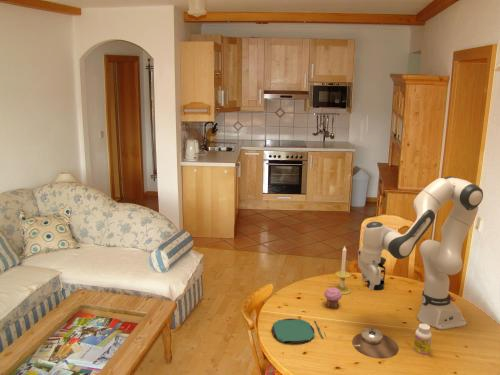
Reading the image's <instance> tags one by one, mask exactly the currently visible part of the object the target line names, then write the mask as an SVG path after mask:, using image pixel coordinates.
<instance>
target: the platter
mask: <svg viewBox="0 0 500 375" xmlns="http://www.w3.org/2000/svg"><path fill="white" fill-rule="evenodd" d="M361 337H362V332H361V333H358V334H355V336H353V338H352V340H351V342H352V343H351V344H352V346H353V348H354V349H355V350H356V351H357V352H359V353H360V354H362V355H364V356H366V357H369V358H373V359H380V360H381V359H383V360H385V359H390V358H393V357H395V356H397V355H398V353H399V351H400V348H399V347H400V346H399V345H398V343H397V342H396V341H395V340H394V339H393V338H391V337H390V336H387V335H385V334H383V335H382V342H381V343H380V344H377V345H371V344H368V343H365V342H364V341H363V340H362V338H361Z"/></svg>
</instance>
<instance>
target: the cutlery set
mask: <svg viewBox="0 0 500 375" xmlns="http://www.w3.org/2000/svg"><path fill="white" fill-rule="evenodd" d="M313 322H314V324H315V326H316V329H317V331H318V334H319V336H320V337H321V338H322V339H324V336H325V337H327V335H326V332H325V331H324V336H323V334H322V332H321V328H320V326H319V325H318V323H317V321H316V320H314V321H313ZM271 331H272V334H273V335H274V337H276V339H277V341H278V342H280V343H284V342H286V343H295V344H296V343H297V344H299V343H305V342H307V341H309V342H310V341H311V340H312V339H314V337H315V328H314V327H313V325H311V323H310V322H308V321H306V320H304V319H301V318H283V319H278V320H277V321H275V322H274V323H272V326H271Z"/></svg>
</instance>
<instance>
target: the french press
mask: <svg viewBox="0 0 500 375" xmlns="http://www.w3.org/2000/svg"><path fill="white" fill-rule="evenodd" d="M386 262H387V259H386V258H385V257H383V256H381V261H380V263H379V264H378V266H379V268H382V269H381V281H380V284H379V285H375V286H374V290H373V291H383V290H384V289H385V278H386V266H384V265H385V264H386ZM382 273H383V274H382ZM364 283H367V284H366V286H367V288H368V289H369V285H370V281H369V280H368V279H367V280H366V281H364Z"/></svg>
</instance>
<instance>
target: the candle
mask: <svg viewBox="0 0 500 375" xmlns="http://www.w3.org/2000/svg"><path fill="white" fill-rule="evenodd" d="M341 253H342V254H341V256H342V257H341V268H340V269H341V270H338V271H335V273H334V275H335V276H336V277H338V278H340V280H339V285H335V286H334V287H335V288H337V289H338V290H340V291H341V293H342V295H349V294H350V293H351V292H352V290H351V288H350V287H348V286H346V282H345V281H346V279H348V278H350V277H351V275H352V274H351V273H350V272H349V271H346V263H347V262H346V261H347V248H346V245H344V246H343V248H342V252H341Z"/></svg>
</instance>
